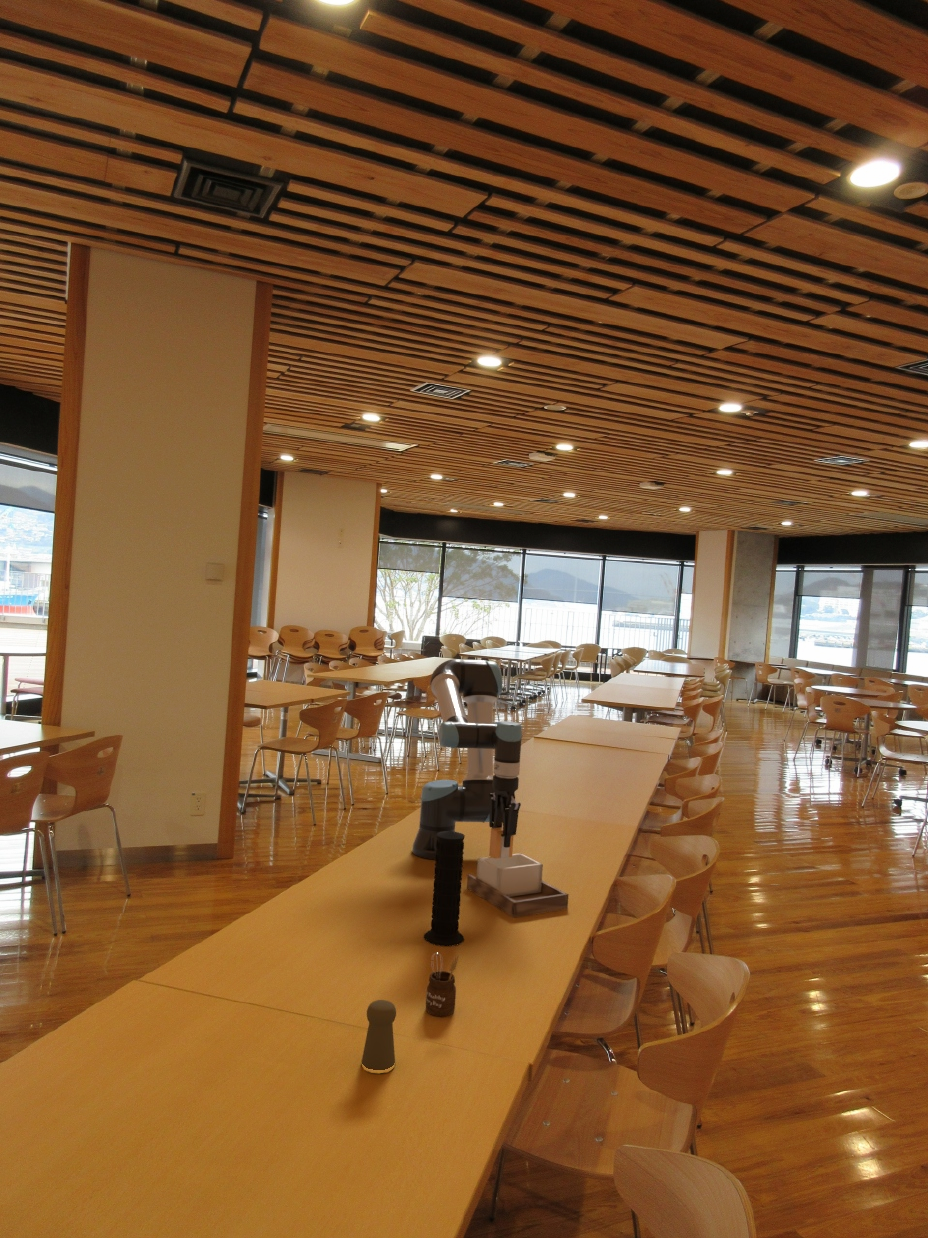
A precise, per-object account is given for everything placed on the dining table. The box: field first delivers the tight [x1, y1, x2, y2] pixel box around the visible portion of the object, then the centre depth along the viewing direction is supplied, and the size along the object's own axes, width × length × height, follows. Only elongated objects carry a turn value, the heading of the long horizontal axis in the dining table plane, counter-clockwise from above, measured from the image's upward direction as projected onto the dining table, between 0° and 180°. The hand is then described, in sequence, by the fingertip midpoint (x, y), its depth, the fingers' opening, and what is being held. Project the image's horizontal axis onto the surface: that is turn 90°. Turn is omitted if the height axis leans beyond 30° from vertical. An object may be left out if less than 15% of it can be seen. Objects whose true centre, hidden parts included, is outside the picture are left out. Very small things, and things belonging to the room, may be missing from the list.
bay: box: [466, 873, 569, 918], centre depth 242 cm, size 24×18×4 cm
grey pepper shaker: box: [361, 999, 397, 1070], centre depth 152 cm, size 6×6×11 cm
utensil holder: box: [425, 952, 460, 1018], centre depth 173 cm, size 6×6×12 cm
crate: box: [476, 826, 544, 897], centre depth 246 cm, size 12×15×16 cm
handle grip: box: [423, 831, 466, 947], centre depth 210 cm, size 10×26×10 cm
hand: (500, 855), depth 250 cm, fingers closed on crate, 3 cm apart
